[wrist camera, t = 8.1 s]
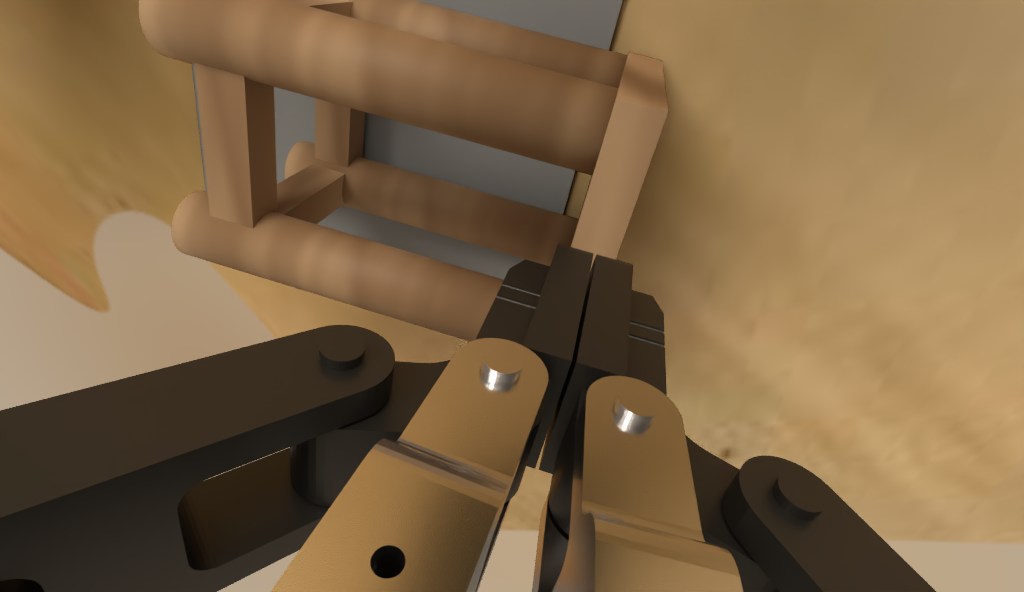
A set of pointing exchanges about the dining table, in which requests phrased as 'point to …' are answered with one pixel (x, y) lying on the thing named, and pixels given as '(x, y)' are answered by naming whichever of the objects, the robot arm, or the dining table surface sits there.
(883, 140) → the dining table surface
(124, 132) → the dining table surface
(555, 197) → the mat
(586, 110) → the wooden dowel frame
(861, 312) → the dining table surface
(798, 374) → the dining table surface
